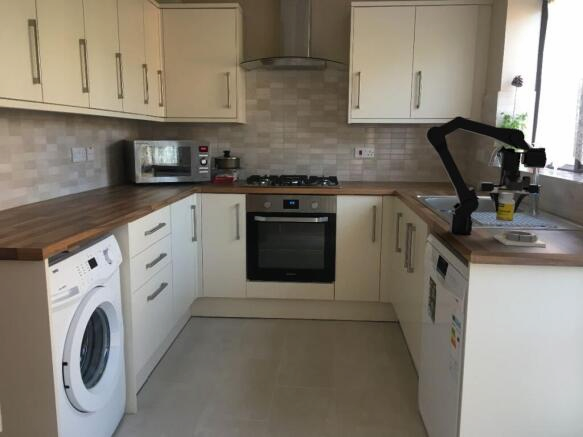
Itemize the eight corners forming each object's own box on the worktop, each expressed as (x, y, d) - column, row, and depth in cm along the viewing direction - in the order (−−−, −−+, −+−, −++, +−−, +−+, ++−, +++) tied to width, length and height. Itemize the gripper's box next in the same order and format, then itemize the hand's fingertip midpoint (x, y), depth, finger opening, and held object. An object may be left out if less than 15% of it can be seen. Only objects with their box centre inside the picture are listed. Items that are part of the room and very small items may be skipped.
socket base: (505, 244, 147) (506, 235, 146) (494, 237, 157) (495, 228, 157) (545, 247, 145) (546, 237, 145) (531, 239, 156) (532, 230, 156)
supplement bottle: (493, 221, 160) (496, 193, 158) (497, 219, 164) (500, 191, 163) (510, 223, 157) (513, 194, 155) (514, 221, 161) (517, 193, 159)
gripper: (488, 167, 150) (483, 215, 153) (549, 169, 149) (543, 218, 151) (478, 165, 161) (474, 210, 164) (535, 167, 159) (529, 212, 162)
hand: (505, 212), depth 160 cm, fingers closed on supplement bottle, 5 cm apart
